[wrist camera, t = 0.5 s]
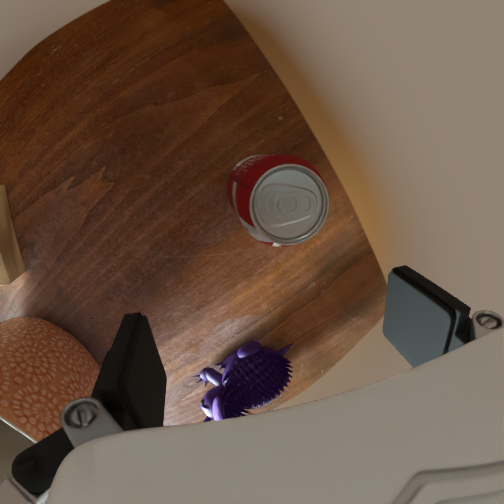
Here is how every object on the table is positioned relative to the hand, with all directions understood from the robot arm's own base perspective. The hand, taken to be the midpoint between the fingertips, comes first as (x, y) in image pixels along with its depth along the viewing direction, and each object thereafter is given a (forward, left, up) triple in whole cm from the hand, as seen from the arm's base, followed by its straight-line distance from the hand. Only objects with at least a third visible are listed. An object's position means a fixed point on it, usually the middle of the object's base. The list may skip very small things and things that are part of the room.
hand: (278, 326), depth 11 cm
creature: (+21, -2, -22) cm, 31 cm away
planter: (+16, -27, -22) cm, 39 cm away
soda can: (-2, +4, -22) cm, 23 cm away
